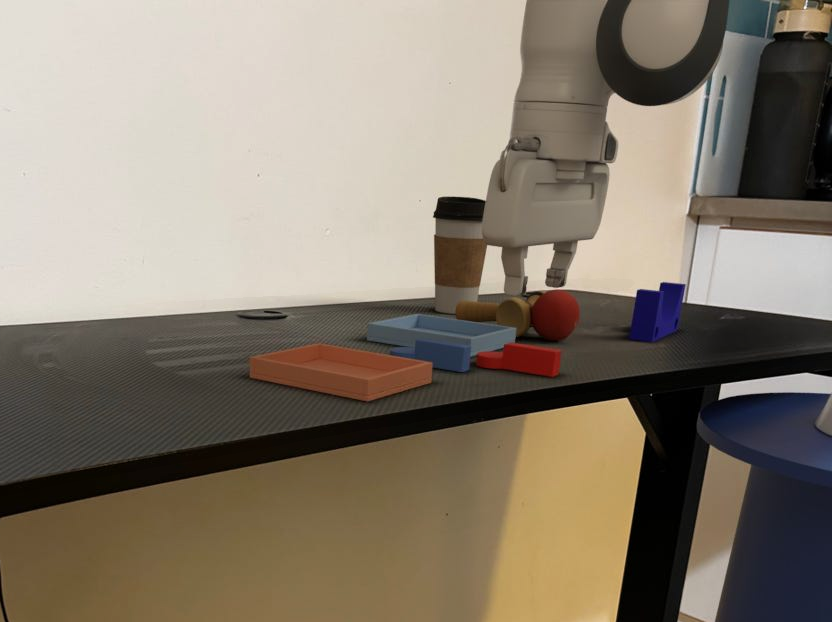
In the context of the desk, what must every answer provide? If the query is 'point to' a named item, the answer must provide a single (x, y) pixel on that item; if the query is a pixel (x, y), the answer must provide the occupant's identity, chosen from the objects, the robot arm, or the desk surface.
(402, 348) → the blue stepped block
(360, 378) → the red tray
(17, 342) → the desk surface
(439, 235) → the coffee cup
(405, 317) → the blue tray
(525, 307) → the kendama
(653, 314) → the cable clip
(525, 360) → the red stepped block
